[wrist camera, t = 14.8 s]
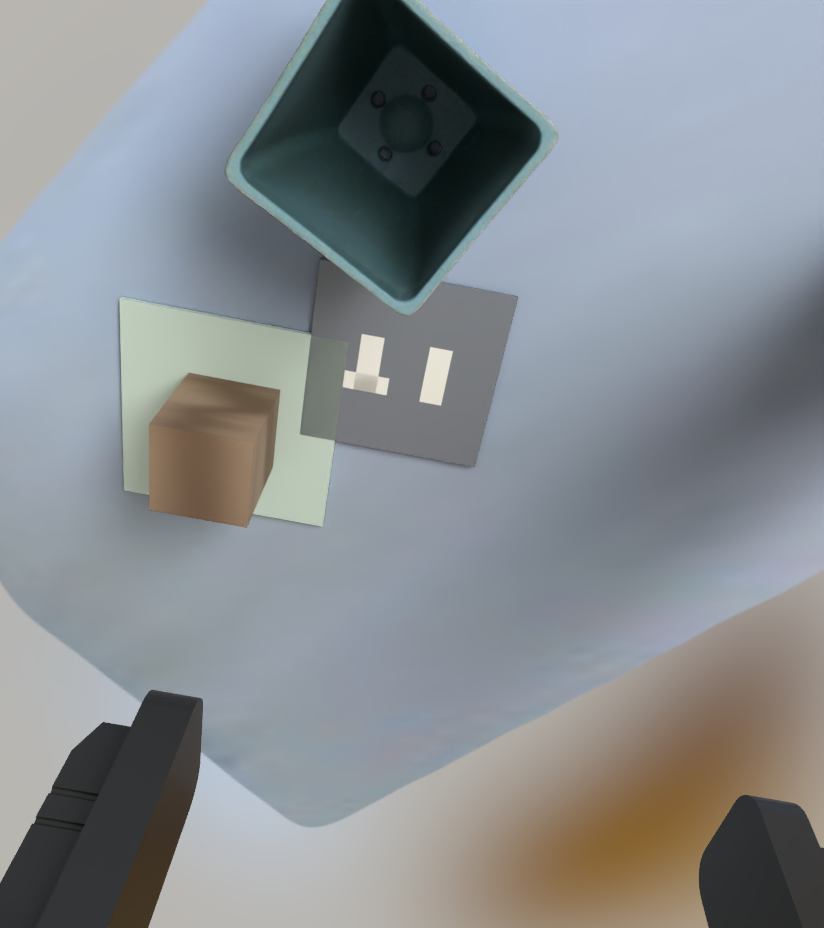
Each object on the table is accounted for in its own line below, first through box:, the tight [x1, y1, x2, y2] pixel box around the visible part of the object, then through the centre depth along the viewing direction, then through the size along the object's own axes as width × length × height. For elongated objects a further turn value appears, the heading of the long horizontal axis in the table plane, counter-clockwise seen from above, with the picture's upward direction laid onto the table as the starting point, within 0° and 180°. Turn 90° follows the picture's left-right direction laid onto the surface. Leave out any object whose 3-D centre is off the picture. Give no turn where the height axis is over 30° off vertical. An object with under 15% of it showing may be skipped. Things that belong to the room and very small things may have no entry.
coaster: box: [119, 297, 349, 527], centre depth 43 cm, size 12×12×1 cm
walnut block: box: [149, 373, 280, 528], centre depth 40 cm, size 5×5×6 cm
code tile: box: [300, 258, 518, 467], centre depth 41 cm, size 10×10×1 cm
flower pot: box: [225, 0, 558, 316], centre depth 31 cm, size 9×9×9 cm
